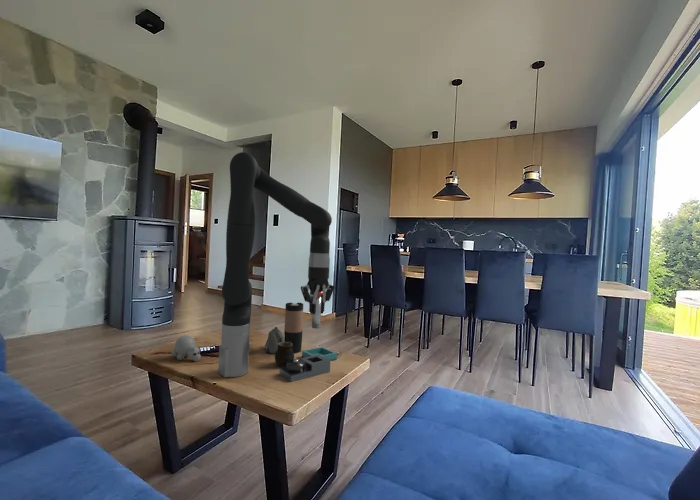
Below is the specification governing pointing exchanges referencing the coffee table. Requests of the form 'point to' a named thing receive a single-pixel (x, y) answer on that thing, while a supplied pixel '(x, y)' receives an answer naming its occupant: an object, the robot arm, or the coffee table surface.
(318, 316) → the lock pin
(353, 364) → the coffee table surface
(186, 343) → the chubby cartoon animal
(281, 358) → the mate gourd
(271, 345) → the mineral rock
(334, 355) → the tray
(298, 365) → the block
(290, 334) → the travel mug
